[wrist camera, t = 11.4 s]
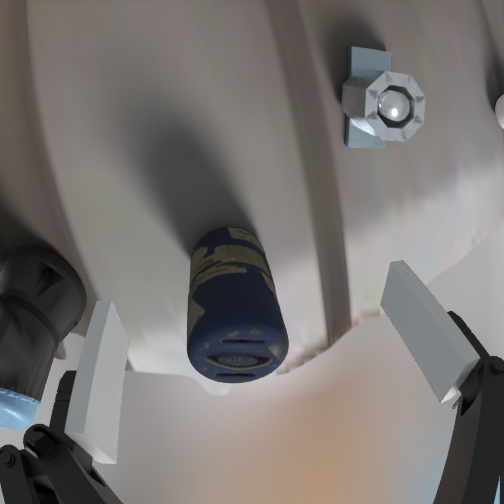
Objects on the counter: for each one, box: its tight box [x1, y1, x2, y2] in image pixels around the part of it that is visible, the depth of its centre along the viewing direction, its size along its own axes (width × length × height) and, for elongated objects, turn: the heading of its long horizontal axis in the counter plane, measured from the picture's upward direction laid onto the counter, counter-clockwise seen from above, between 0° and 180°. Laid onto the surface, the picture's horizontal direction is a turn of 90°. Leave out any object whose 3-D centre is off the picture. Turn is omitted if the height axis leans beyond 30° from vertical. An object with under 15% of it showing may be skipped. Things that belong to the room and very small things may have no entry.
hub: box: [342, 69, 426, 141], centre depth 29 cm, size 7×7×6 cm
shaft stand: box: [345, 46, 410, 148], centre depth 29 cm, size 5×12×7 cm, turn 1°
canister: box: [187, 228, 289, 383], centre depth 34 cm, size 10×10×18 cm
